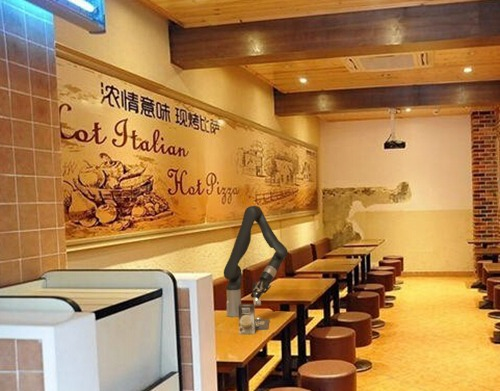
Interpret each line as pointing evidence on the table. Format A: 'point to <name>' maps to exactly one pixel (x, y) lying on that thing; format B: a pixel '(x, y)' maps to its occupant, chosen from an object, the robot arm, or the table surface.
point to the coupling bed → (261, 323)
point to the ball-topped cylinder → (256, 299)
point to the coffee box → (246, 318)
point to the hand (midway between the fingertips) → (254, 297)
